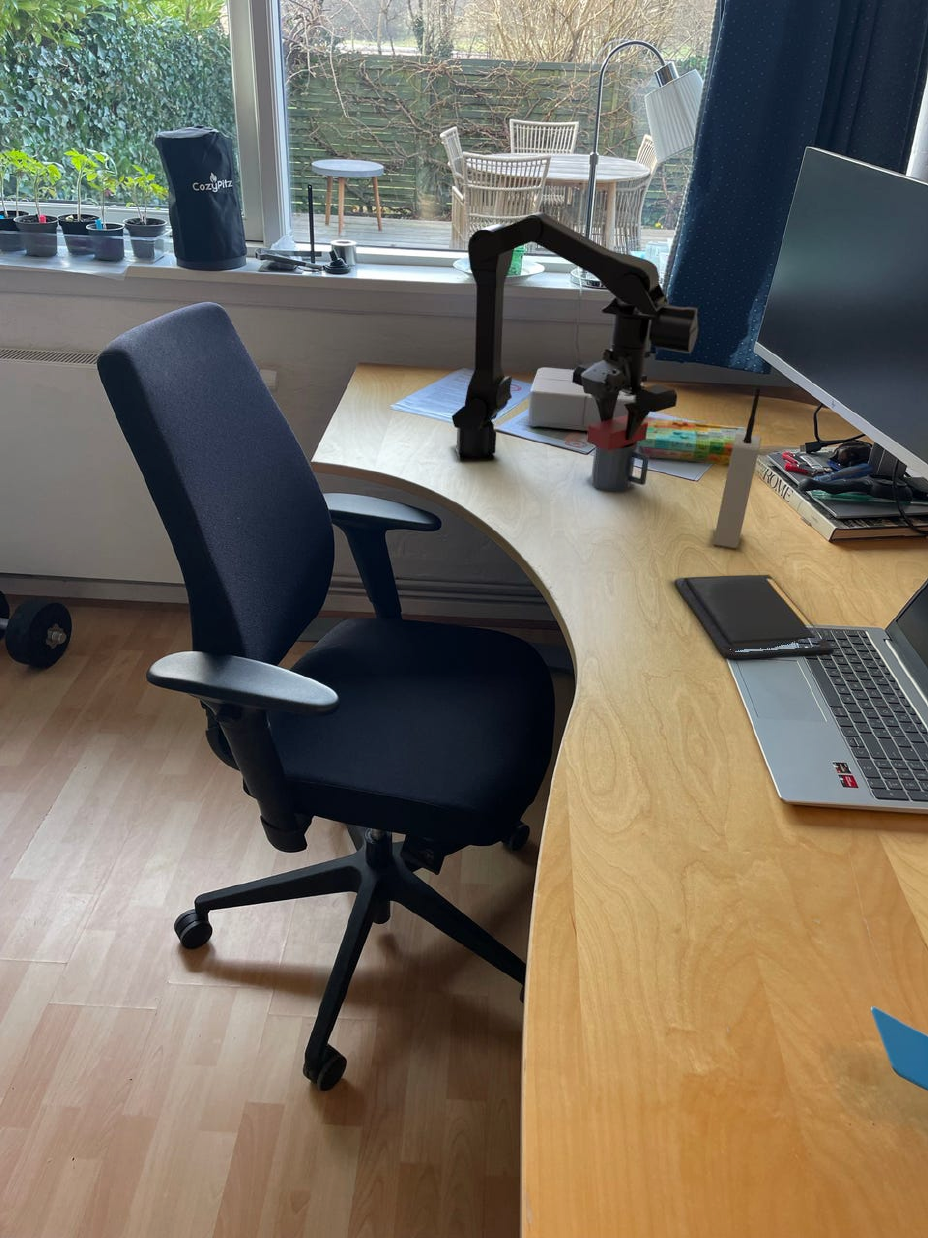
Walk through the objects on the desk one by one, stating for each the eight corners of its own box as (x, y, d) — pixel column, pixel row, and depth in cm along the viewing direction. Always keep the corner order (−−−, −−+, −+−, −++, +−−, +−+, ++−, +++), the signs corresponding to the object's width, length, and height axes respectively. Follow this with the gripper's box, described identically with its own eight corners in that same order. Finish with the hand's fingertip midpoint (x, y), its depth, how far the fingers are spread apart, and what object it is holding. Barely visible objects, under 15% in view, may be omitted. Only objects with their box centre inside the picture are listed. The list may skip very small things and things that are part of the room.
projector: (637, 438, 181) (642, 400, 177) (526, 428, 184) (529, 389, 180) (638, 410, 195) (644, 374, 191) (536, 401, 198) (538, 365, 194)
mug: (583, 484, 162) (588, 441, 158) (603, 472, 167) (608, 430, 162) (634, 500, 157) (640, 456, 153) (652, 487, 162) (659, 444, 158)
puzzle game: (642, 413, 180) (747, 423, 178) (639, 436, 183) (742, 446, 180) (642, 434, 170) (752, 445, 168) (638, 458, 173) (747, 469, 170)
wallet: (674, 570, 133) (775, 567, 134) (672, 581, 134) (772, 578, 135) (723, 648, 116) (837, 643, 118) (720, 660, 117) (834, 656, 119)
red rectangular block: (607, 451, 154) (610, 434, 153) (586, 441, 157) (588, 425, 156) (645, 439, 159) (648, 422, 158) (624, 430, 163) (626, 414, 161)
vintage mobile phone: (739, 536, 147) (773, 382, 133) (737, 549, 143) (771, 392, 129) (716, 532, 148) (747, 378, 134) (712, 545, 144) (744, 389, 130)
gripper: (553, 337, 151) (545, 428, 159) (638, 366, 139) (625, 463, 147) (600, 327, 157) (590, 415, 165) (686, 354, 145) (670, 448, 153)
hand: (617, 434), depth 158 cm, fingers closed on red rectangular block, 5 cm apart
